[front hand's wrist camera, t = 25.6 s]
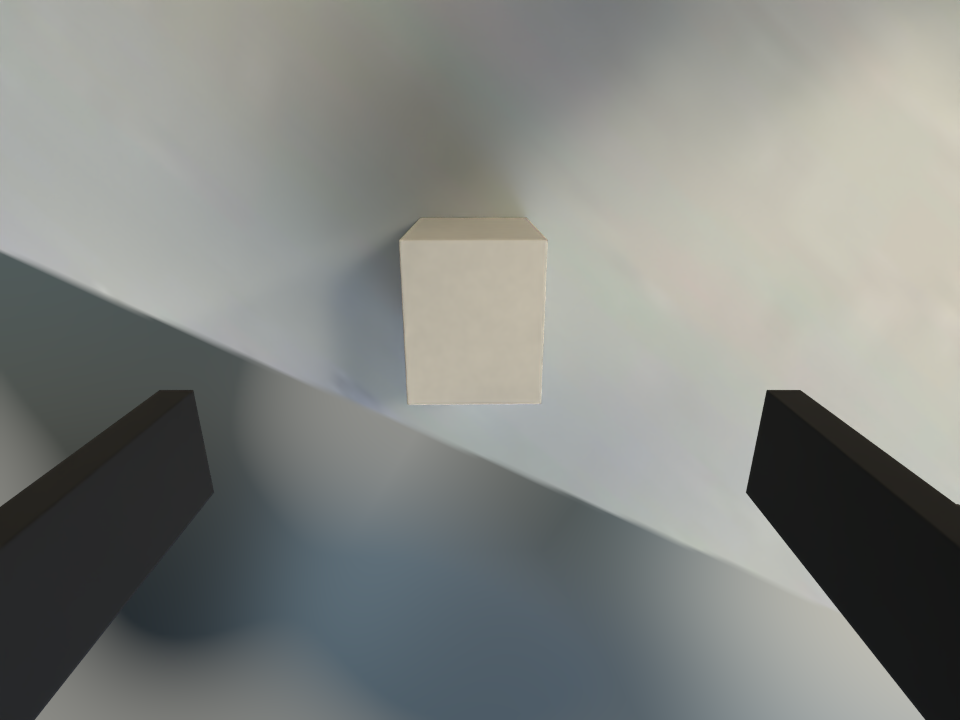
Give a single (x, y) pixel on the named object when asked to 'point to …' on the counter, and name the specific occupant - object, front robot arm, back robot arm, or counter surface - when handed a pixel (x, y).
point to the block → (473, 311)
